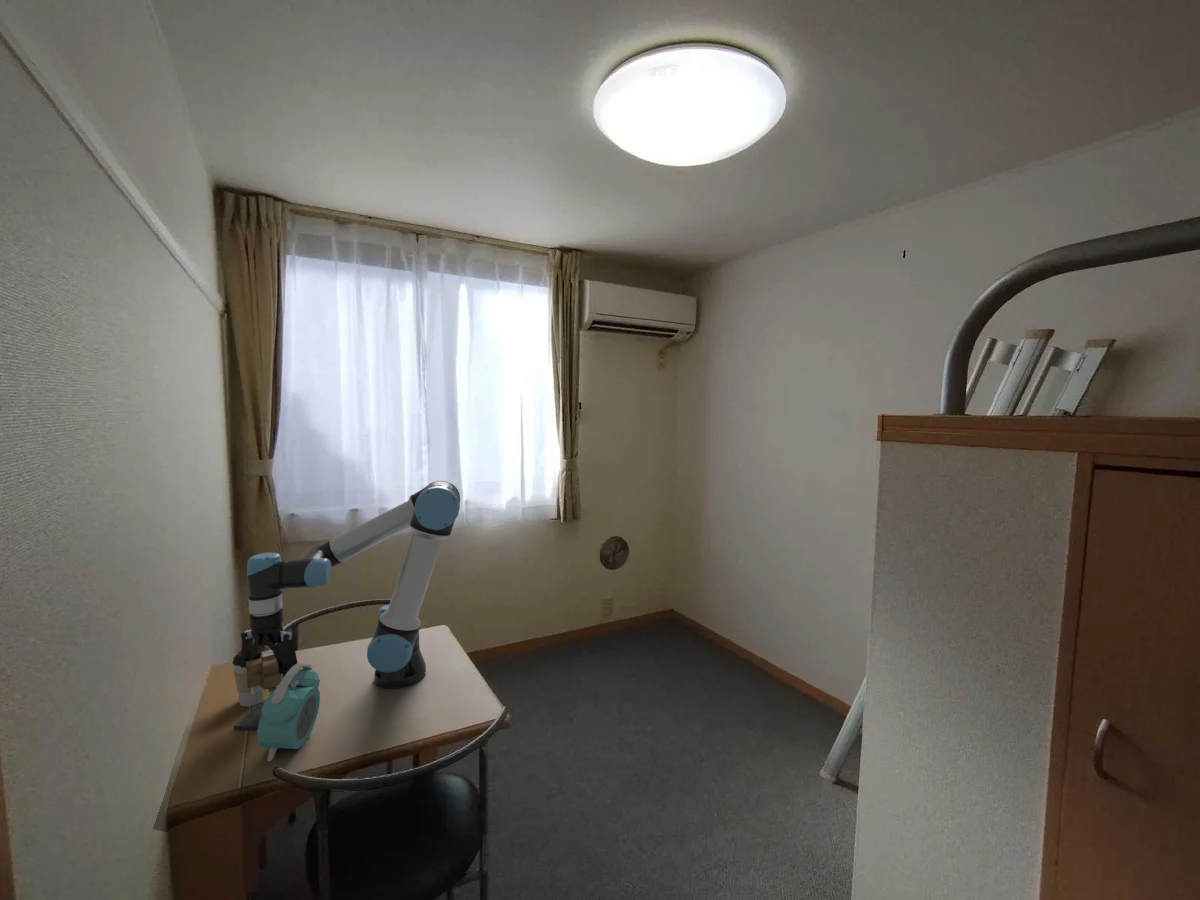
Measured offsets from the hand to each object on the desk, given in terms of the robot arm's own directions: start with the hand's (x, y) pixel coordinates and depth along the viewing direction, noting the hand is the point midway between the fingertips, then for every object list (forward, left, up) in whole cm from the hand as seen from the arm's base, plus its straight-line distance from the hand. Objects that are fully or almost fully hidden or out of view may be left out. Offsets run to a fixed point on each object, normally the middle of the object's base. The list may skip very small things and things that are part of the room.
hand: (270, 692), depth 136 cm
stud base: (0, 0, -7) cm, 7 cm away
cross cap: (0, 0, +3) cm, 3 cm away
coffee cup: (+10, -8, -7) cm, 15 cm away
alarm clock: (-13, +12, -7) cm, 19 cm away
